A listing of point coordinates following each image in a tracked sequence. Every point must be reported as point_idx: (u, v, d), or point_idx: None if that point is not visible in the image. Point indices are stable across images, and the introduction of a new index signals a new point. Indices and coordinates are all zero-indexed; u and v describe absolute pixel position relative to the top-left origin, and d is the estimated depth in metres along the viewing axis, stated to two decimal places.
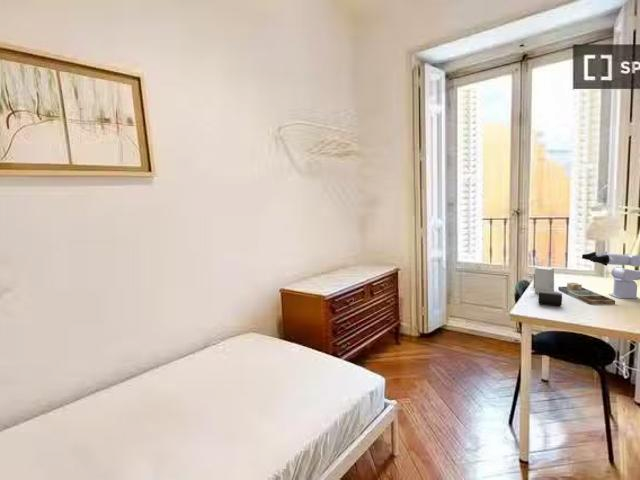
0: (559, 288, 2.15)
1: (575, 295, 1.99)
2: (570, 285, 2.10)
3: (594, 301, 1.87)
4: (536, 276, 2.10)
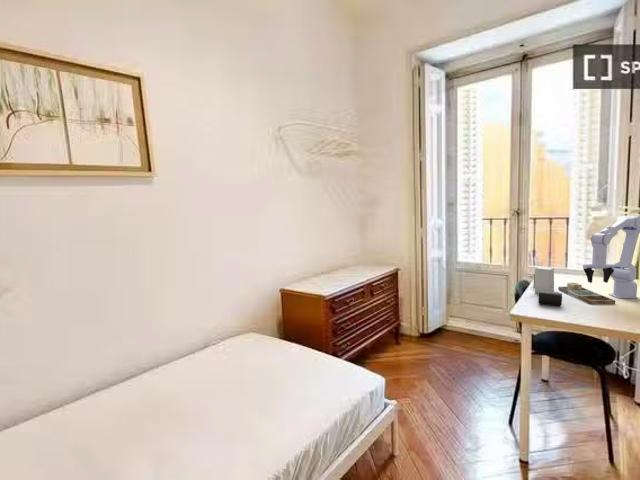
0: (559, 288, 2.15)
1: (575, 295, 1.99)
2: (570, 285, 2.10)
3: (594, 301, 1.87)
4: (536, 276, 2.10)
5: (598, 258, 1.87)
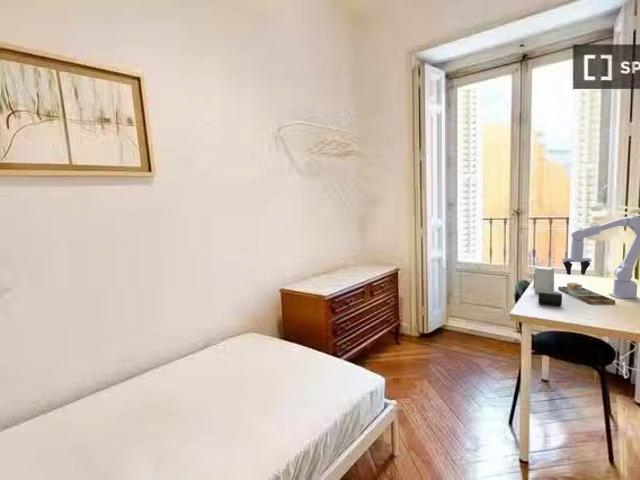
0: (559, 288, 2.15)
1: (575, 295, 1.99)
2: (570, 285, 2.10)
3: (594, 301, 1.87)
4: (536, 276, 2.10)
5: (576, 253, 2.05)
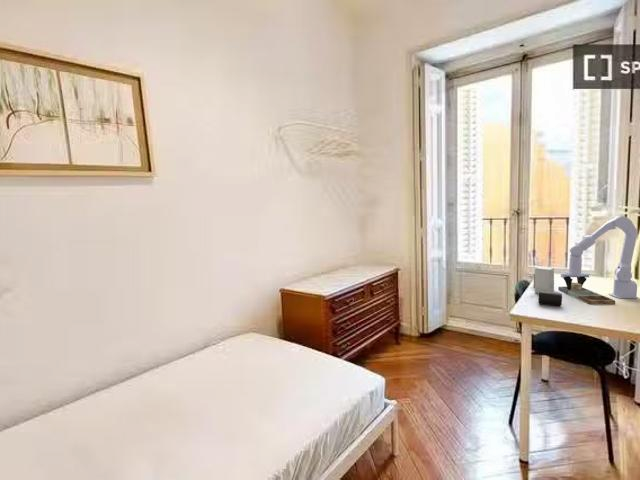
0: (559, 288, 2.15)
1: (575, 295, 1.99)
2: None
3: (594, 301, 1.87)
4: (536, 276, 2.10)
5: (574, 268, 2.07)
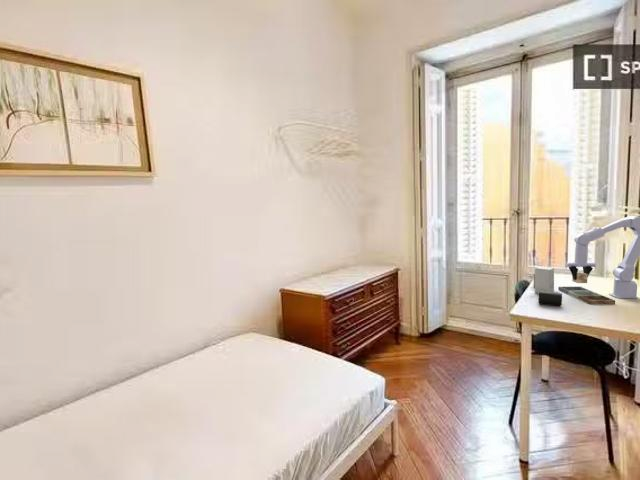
0: (559, 288, 2.15)
1: (575, 295, 1.99)
2: None
3: (594, 301, 1.87)
4: (536, 276, 2.10)
5: (580, 257, 2.02)
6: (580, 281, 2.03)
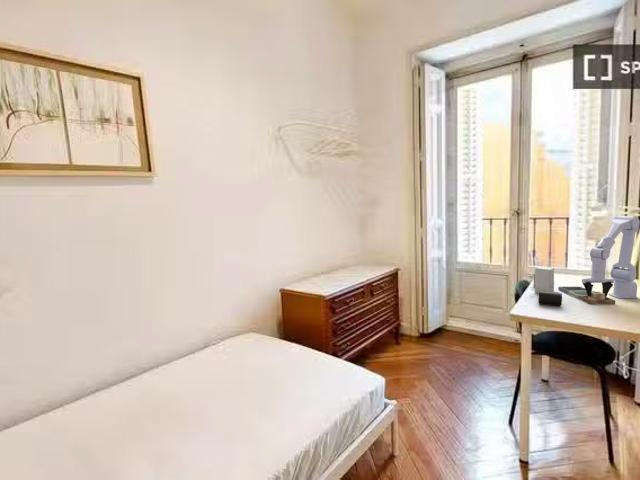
0: (559, 288, 2.15)
1: (575, 295, 1.99)
2: (592, 294, 1.91)
3: (594, 301, 1.87)
4: (536, 276, 2.10)
5: (597, 273, 1.88)
6: None
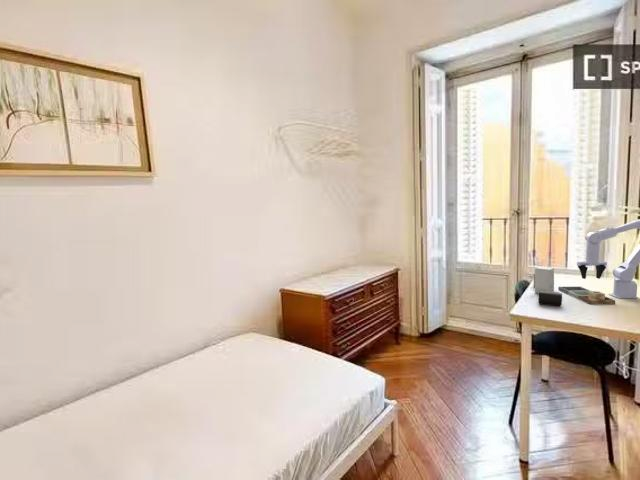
0: (559, 288, 2.15)
1: (575, 295, 1.99)
2: (592, 294, 1.91)
3: (594, 301, 1.87)
4: (536, 276, 2.10)
5: (592, 256, 1.99)
6: None
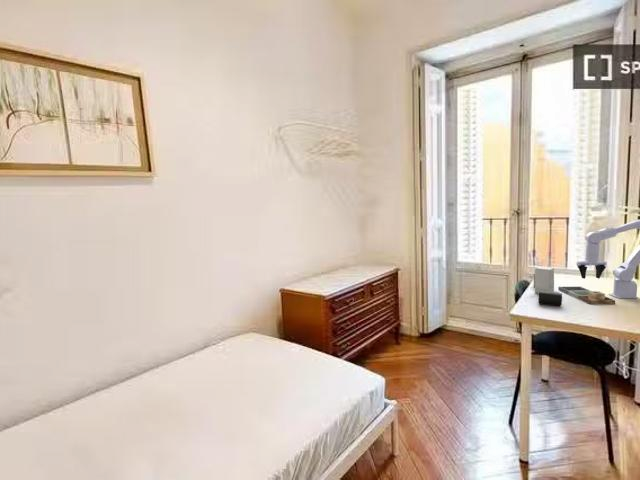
0: (559, 288, 2.15)
1: (575, 295, 1.99)
2: (592, 294, 1.91)
3: (594, 301, 1.87)
4: (536, 276, 2.10)
5: (591, 256, 2.00)
6: None
